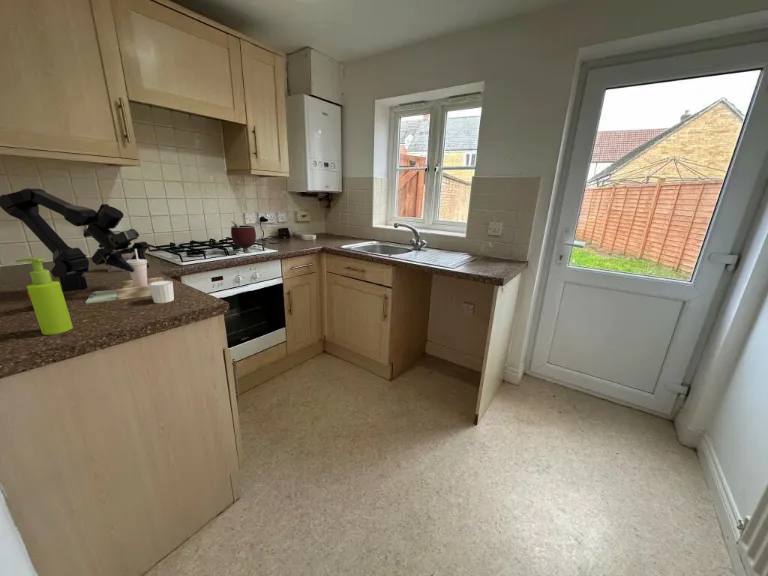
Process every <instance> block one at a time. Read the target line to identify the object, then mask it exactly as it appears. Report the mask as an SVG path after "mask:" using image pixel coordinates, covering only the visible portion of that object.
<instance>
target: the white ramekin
mask: <svg viewBox="0 0 768 576" xmlns="http://www.w3.org/2000/svg"><path fill="white" fill-rule="evenodd" d="M148 285H149V288H150V291H151V294H152V296H151V297H152V300H153V302H154V303H155V304H166V303H170V302H172V301H174V300H175V296H174V295H175V294H174V283H173V280H167V279H165V280H164V281H156V282H152V283H150V284H148Z"/></svg>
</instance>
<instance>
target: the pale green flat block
mask: <svg viewBox="0 0 768 576" xmlns="http://www.w3.org/2000/svg"><path fill="white" fill-rule="evenodd" d="M116 289H117V288H116ZM116 289H109V290H108V289H107V290H100V291H93V292H91V294H89V296H88V298H87V299H86V301H85V304H92V303H93V304H95V303H100V302H101V303H102V302H109V301H117V300H118V298H117V294H116Z"/></svg>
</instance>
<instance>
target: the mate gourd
mask: <svg viewBox="0 0 768 576" xmlns="http://www.w3.org/2000/svg"><path fill="white" fill-rule="evenodd" d="M231 223H232V224H233V225H231V227H230V236H231V240H232V243H233V244H234V245H235V246H237V247H239V248H242V251H241V252H244V253H246V252H247V253H251V252H249V251H250V250H249V248H251V247H252V246H254V245H255V243H256V240H257V235H256V234H257V233H256V229H255V225H249V224H248V225H247V224H246V225H244V224H243V225H239V224H238V223H237V222H235V221H233V220H231Z"/></svg>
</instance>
